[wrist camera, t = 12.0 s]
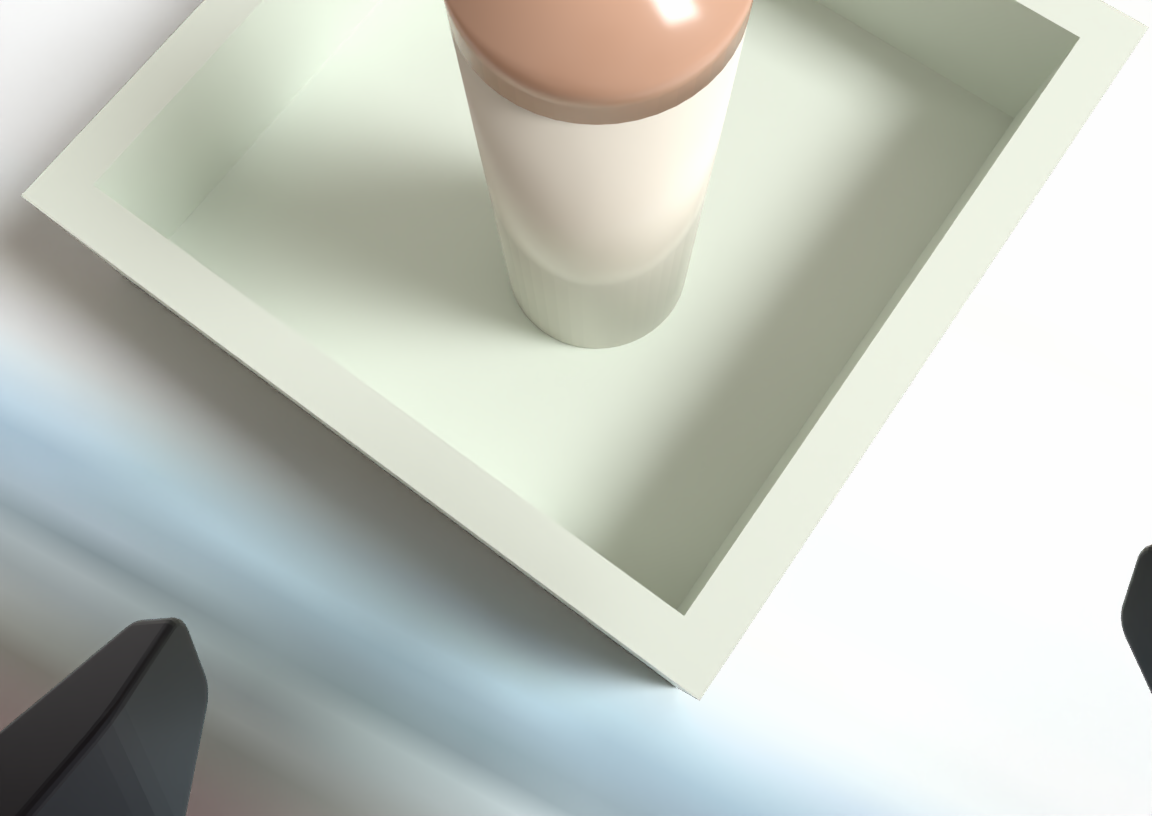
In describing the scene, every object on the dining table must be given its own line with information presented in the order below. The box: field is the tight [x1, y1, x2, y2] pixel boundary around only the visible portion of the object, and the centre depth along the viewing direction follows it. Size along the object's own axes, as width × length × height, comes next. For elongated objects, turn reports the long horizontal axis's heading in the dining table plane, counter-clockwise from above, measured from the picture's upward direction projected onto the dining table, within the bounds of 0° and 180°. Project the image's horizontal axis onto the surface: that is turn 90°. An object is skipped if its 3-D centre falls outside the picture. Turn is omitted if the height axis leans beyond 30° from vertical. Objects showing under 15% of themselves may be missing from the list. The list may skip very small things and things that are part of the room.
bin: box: [21, 0, 1149, 701], centre depth 20 cm, size 16×16×4 cm
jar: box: [444, 0, 753, 349], centre depth 16 cm, size 4×4×10 cm
